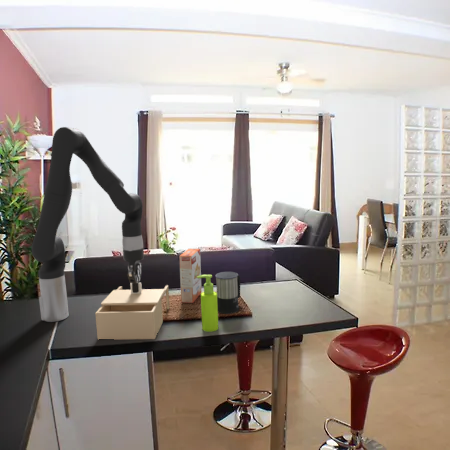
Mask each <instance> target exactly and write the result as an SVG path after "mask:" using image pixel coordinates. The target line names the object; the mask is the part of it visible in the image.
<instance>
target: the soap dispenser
mask: <svg viewBox="0 0 450 450" xmlns="http://www.w3.org/2000/svg"><path fill="white" fill-rule="evenodd" d="M197 278H198V279H199V278H201V279H205V283H204V284H203V291H201V294H200V307H201V309H200V311H201V328H202V329H201V330H202V331H204V332H208V333H210V332H212V333H213V332H216V331H217V330H218V329H219V312H218V304H217V291H215V290H214V283H212V282H211V281H212V279H211V278H213V275H212V274H201V275H199V276H197Z"/></svg>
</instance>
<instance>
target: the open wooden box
mask: <svg viewBox="0 0 450 450" xmlns="http://www.w3.org/2000/svg"><path fill="white" fill-rule="evenodd" d="M163 289H165V292H164V294H163V296H162V298H161V299H160V301H159V303H158V305H101V306H100V307H99V308H98V309H97V311H96V312H95V324H96V325H95V326H96V334H97V335H96V336H97V340H99V339H114V340H155V339H156V338H157V336H156V335H158V334H157V333H159V331H160V329H161V328H162V324H163V322H164V321H163V306H162V304H163V303H162V302H163V301H162V300H163V298H164V296H165V299H166V301H165V302H166V310H170V294H169V293H170V292H169V285H168V284H166V285H165V286H164V288H163ZM116 290H123V286H118V287H117V289H116ZM99 341H100V340H99Z"/></svg>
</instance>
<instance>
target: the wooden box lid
mask: <svg viewBox="0 0 450 450" xmlns="http://www.w3.org/2000/svg"><path fill="white" fill-rule="evenodd" d="M129 283H130V282H129ZM129 286H130V287H129V288H130V289H122V290H117V289H113V290H112V291H111V292H110V293H109V294H108V295H107V296H106V297H105V298H104V299H103V300H102V301H101V303H100V305H101V306H102V305H158V303H159V301H160V299H161V298H162V296H163V294H164V292H165V289H164V288H151V289H148V288H147V289H145V288H143V287H142V282H139V283H138V287H139V292H137V293H133V290H132V283H130V284H129ZM164 295H165V294H164ZM163 297H164V296H163ZM162 299H163V298H162Z"/></svg>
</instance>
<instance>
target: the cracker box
mask: <svg viewBox="0 0 450 450" xmlns="http://www.w3.org/2000/svg"><path fill="white" fill-rule="evenodd" d="M201 259H202V258H201V249H200V248H188V249H186V250H185V251H184V252H183V253H181V254H179V279H180V280H179V281H180V302H181V303H184V304H194V302H196V301H197V298H199V296H201V293H202V278H199V279H198V278H197V276H199V275H202V272H201V270H202V269H201V268H202V267H201V266H202V265H201V262H202V261H201Z"/></svg>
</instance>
